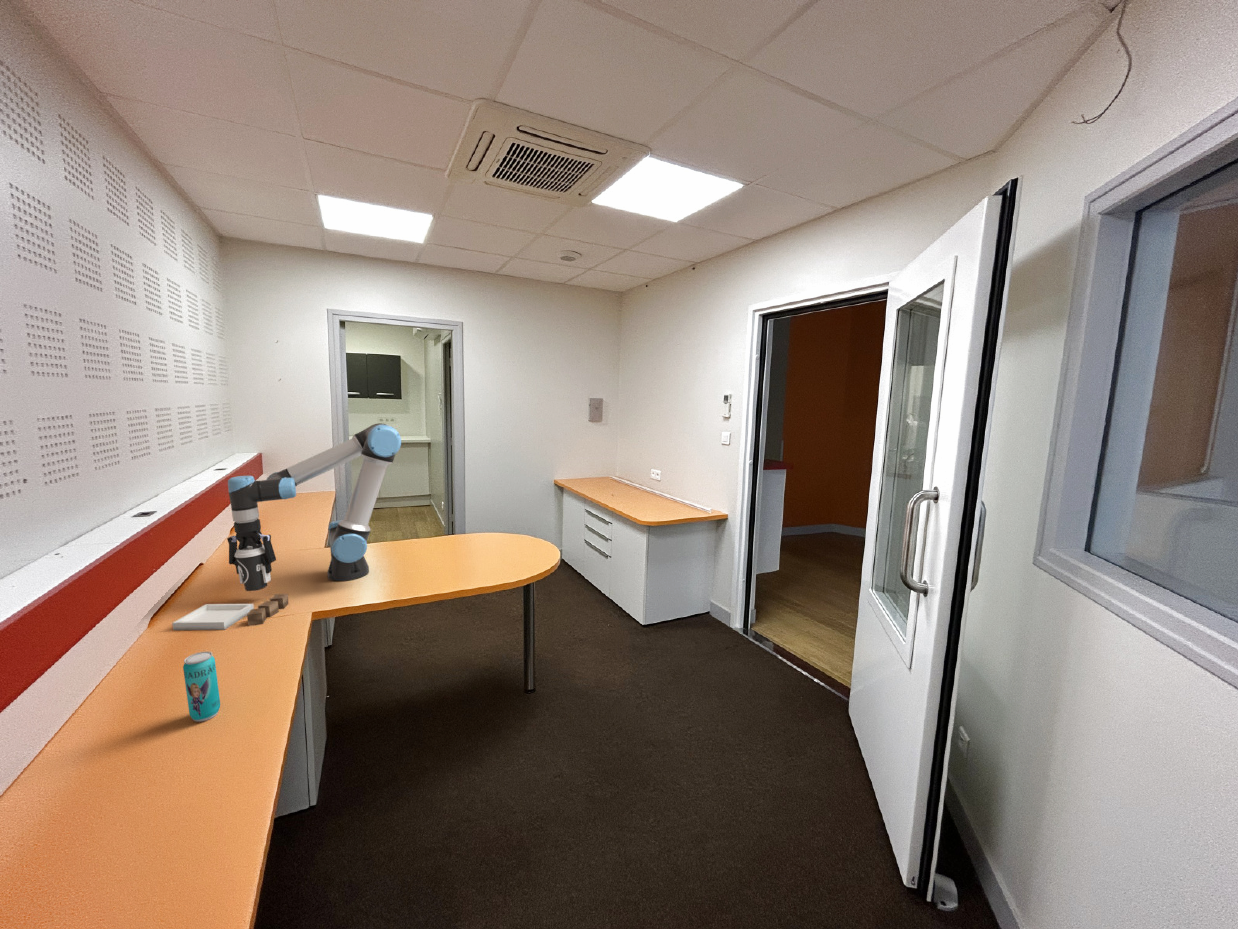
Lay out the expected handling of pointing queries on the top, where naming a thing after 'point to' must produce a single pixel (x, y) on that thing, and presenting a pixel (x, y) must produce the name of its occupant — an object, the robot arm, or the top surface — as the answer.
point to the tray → (213, 617)
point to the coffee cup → (251, 567)
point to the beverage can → (201, 686)
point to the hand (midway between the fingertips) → (255, 581)
